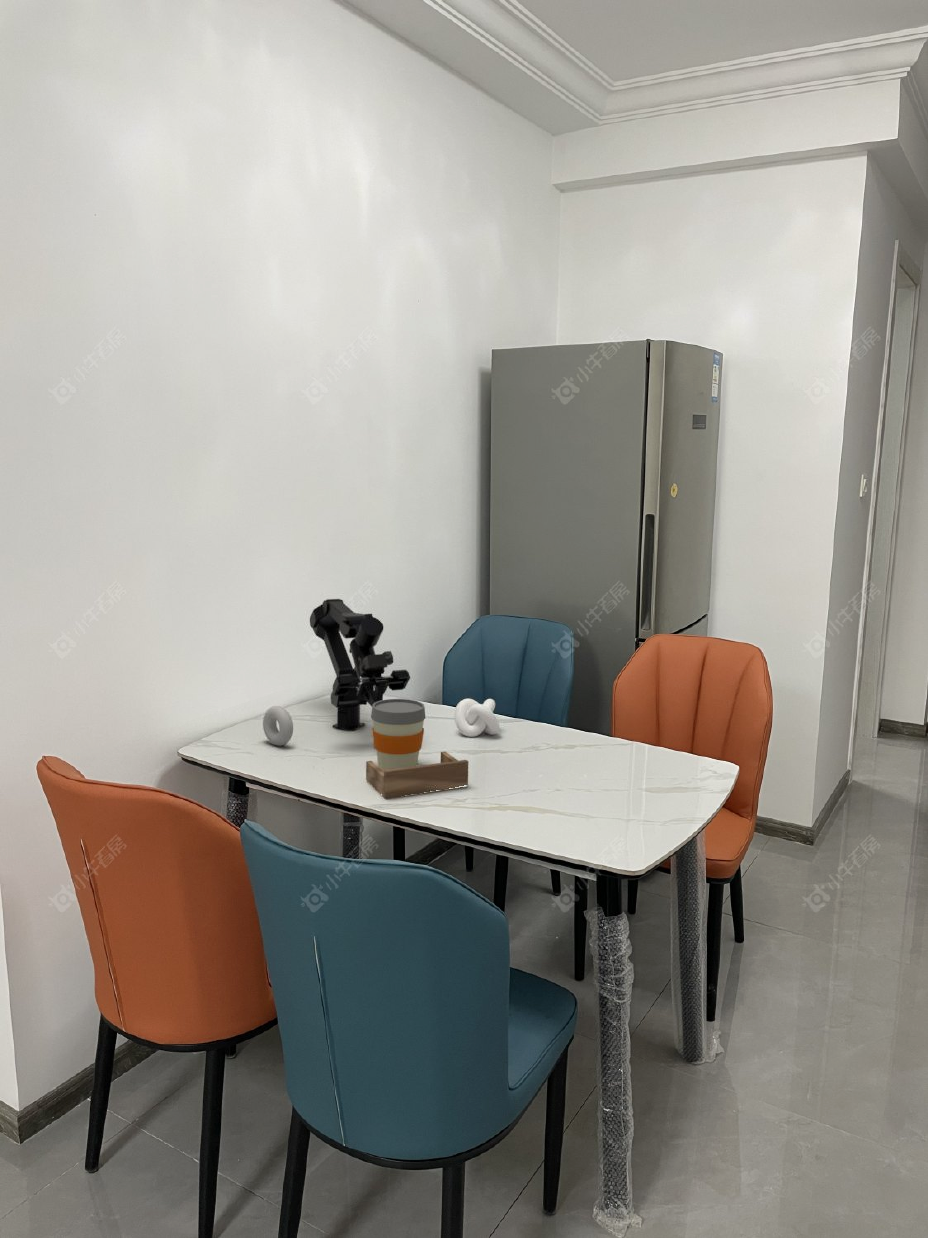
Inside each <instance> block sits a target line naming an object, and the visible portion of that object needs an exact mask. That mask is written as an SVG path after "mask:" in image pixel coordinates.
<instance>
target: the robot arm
mask: <svg viewBox="0 0 928 1238" xmlns="http://www.w3.org/2000/svg"><path fill="white" fill-rule="evenodd" d="M309 626H310V628H312V631H313V633H314V634H315V636H316V637H318V639H321V640H323V642H324V645H325V648H326V650H327V653H328V656H329V658H330V659H329V660H330V661H331V664H332V667H333V669H334V672H335V676H336V677H335V680H334V682H333V684H332V692H331V694H330V703H331V705H332V706H334V708H337V713H336V714H337V715H336V716H337V717H336V721H337V723H335V724H333V725H332V728H334V729H339V730H345V731H356V730H358V729H360V728H361V727H364V726H365V725H366V723H365V722H361V706H362V705H364V706H365V705H367V704H369V705H370V707H372V705H373V704H374V703H375V702H378V701H381V700H384V694H385V693H386V692H387V689H389V690H392V691H393V692H394V691H402V690H404V689H406V687H407V685H408V682H410V679H411V676H410V672H409V671H408V670H407V669H395V670H392V671H391V673H390V675H389V676H388V675H386V676H383V674H384V673H385V668H388V666H390V665H393V663H394V656H393V653H392V650H391V651H390V650H386V651H384V652H382V653H380V654H379V653H378V654H376V652H375V648H374V647H375V646H376V645H378V642H379V641H380V637H382V636H381V635H382V633H383V631H384V624H383V623H382V621H381V620H380V619H378V618H376V617H374V616H373V613H360V612H358V613H356V612H355V611H353V610H352V609H351V608H349V607H348V605H346V604H345V603H344V600H343V599H340V598H327V599H326V600H323V602H322V604H320V605H318V606H317V607H315V608H313V610H312V612H311V614H310V617H309ZM341 635H342V636H341ZM342 637H343V638H344V639H346V640H347V639H352V640H351V641H350V643H349V651H347V649H346V646H345V644H344V643H345V642H344V641H343V638H342ZM348 652H349V653H350V654H351V657H352V661H353V663H354V664H352V661H351V658H350V656H349V653H348ZM353 665H354V667H353Z"/></svg>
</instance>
